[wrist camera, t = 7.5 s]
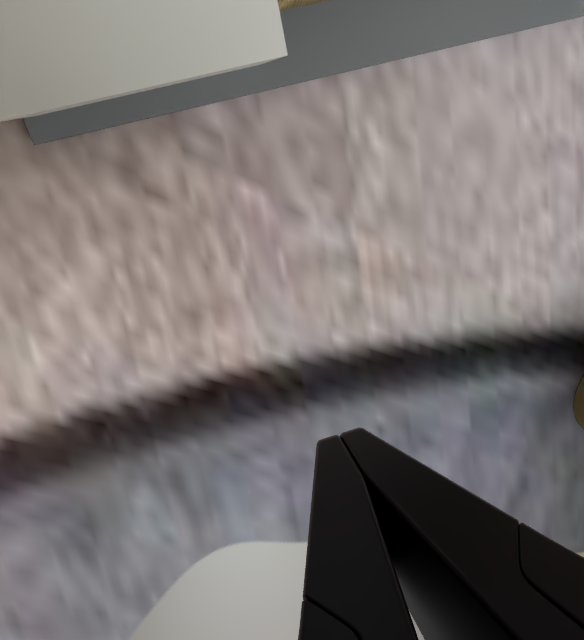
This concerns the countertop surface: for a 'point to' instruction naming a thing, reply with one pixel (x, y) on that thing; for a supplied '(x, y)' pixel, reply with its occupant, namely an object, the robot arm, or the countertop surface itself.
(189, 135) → the countertop surface
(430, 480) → the robot arm
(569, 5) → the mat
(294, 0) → the bolt
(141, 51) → the sleeve
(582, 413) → the cork
